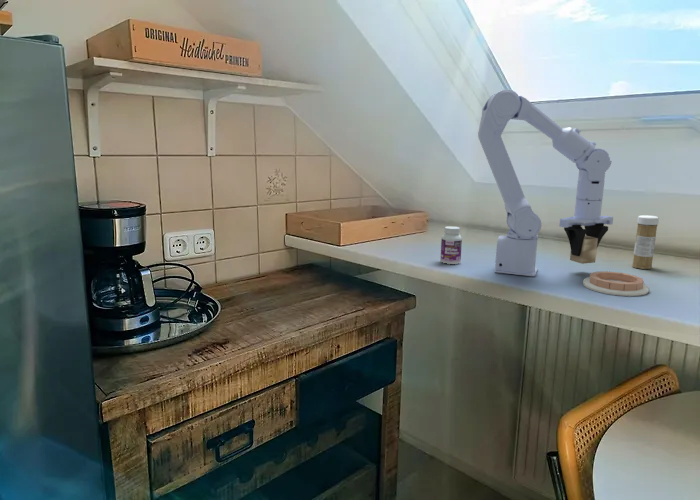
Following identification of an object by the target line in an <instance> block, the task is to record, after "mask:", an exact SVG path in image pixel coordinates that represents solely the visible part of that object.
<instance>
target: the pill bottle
mask: <svg viewBox="0 0 700 500" xmlns="http://www.w3.org/2000/svg"><path fill="white" fill-rule="evenodd" d="M460 232H461V228H460V227H459V226H452V225H451V226H449V225H448V226H445V227H444V234H442V236H441V243H440V244H441V245H440V263H442V262H443V263H442V264H444V263H447V264H446V265H450V264H455V265H459V264H460V263H461V260H462V243H463V238H462V235H461V234H460ZM458 263H459V264H458Z"/></svg>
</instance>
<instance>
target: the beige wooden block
mask: <svg viewBox="0 0 700 500" xmlns="http://www.w3.org/2000/svg"><path fill="white" fill-rule="evenodd" d="M597 242H598V238H594V237H590V236H586V235H585V237H584V240H583V244H582V250H581V254H580V256H575V255H572V253H571V252H570V255H569V256H570V257H569V261H571V262H576V263H578V264H581V265H582V264H583V265H584V264H594V263H596V259H597V258H596V256H597V250H598V247H597Z"/></svg>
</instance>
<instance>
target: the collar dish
mask: <svg viewBox="0 0 700 500" xmlns="http://www.w3.org/2000/svg"><path fill="white" fill-rule="evenodd" d="M582 285H583V286H584V287H585V288H586V289H588V290H591V291H594V292H597V293H600V294H606V295H611V296H619V297H620V296H621V297H639V296H640V297H641V296H645V295H648V294H649V292H650V286H648V285H647V284H646V283H644V279H643V278H642V277H640V276H637V275H634V274H629V273H624V272H619V271H608V270H607V271H605V270H604V271H594V272H590V274H589V276H587V277H585V278H584V279H583V281H582Z"/></svg>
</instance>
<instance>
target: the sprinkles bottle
mask: <svg viewBox="0 0 700 500" xmlns="http://www.w3.org/2000/svg"><path fill="white" fill-rule="evenodd" d="M659 219H660V218H659V217H658V216H656V215H650V214H649V215H647V214H643V215H638V216H637V222H636V223H637V228H636V236H635V242H634V248H633V259H632V264H631V266H632V267H633V268H635V269H640V270H651V269H652V268H653V259H654V252H655V247H656V239H657V230H658V229H657V228H658V225H659Z"/></svg>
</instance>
